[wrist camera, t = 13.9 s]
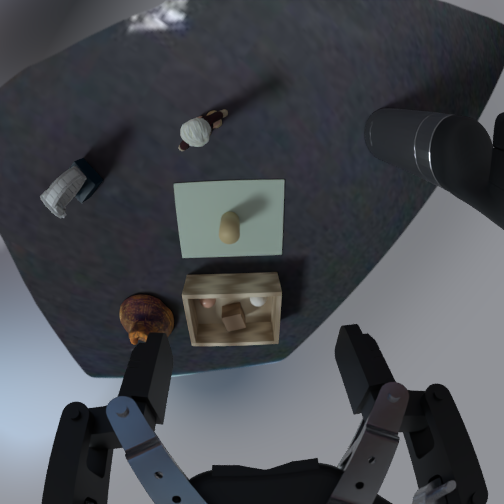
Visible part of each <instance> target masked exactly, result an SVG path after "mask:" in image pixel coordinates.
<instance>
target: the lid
mask: <svg viewBox="0 0 504 504" xmlns="http://www.w3.org/2000/svg"><path fill="white" fill-rule="evenodd" d="M174 193H175V203H176V212H177V220H178V229H179V236H180V244H181V251H182V258H196V257H227V256H258V255H282V238H283V211H284V179H270V180H227V181H205V182H188V183H174Z"/></svg>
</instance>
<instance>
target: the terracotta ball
mask: <svg viewBox="0 0 504 504" xmlns="http://www.w3.org/2000/svg"><path fill="white" fill-rule="evenodd" d="M199 301H200V304H201V305H202V306H203V307H205V308H210V307H212V306H214V304H215V303H216V298H208V299H199Z"/></svg>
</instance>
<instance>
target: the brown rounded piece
mask: <svg viewBox="0 0 504 504" xmlns="http://www.w3.org/2000/svg"><path fill="white" fill-rule="evenodd" d="M140 299H141V300H140ZM138 319H139V320H138ZM120 320H121V323H122V325H123V327H124V328H125V329H126V331H127V332H128V333H129V338H130V341H131V343H132V344H134V345H136V344H137V343H138V339H140V340H142V341H146V340H147V337H148V334H149V333H150V332H157V333H166V335H167V337H168V336H169V335H170V334H171V332H172V330H173V327H174V318H173V314H172V312H171V310H170V309H169V308H168V307H167V306H166V305H165V304H164V303H163V302H162V301H161V300H160V299H158V298H156V297H153V296H150V295H141V294H139V295H134V296H131V297H129V298H127V299H126V300H125V301H124V302H123V303H122V305H121V307H120ZM132 327H133V328H132ZM149 331H150V332H149Z"/></svg>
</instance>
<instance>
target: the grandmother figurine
mask: <svg viewBox="0 0 504 504" xmlns="http://www.w3.org/2000/svg"><path fill="white" fill-rule="evenodd" d="M227 115H228V111H227V110H225V109H223V110H221V111H215V110H213V111H210V112H209V113H208V114H207V116H203V117H202V116H199V117H197V118H194V119H191V120H189V121H188V122H186V123H185V124H183V125H182V127H181V137H182V139H183V141H182V142H181V143H180V145H179V150H181V151H184V150H186V149H188V148H189V146H195V147H201V146H203V145H205V144H206V143H207V142H208V141H209V136H210V135H211V132H212V130H213V128H218V127H220V126H221V125H222V120H221V119H222V118H224V117H226V116H227Z"/></svg>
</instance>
